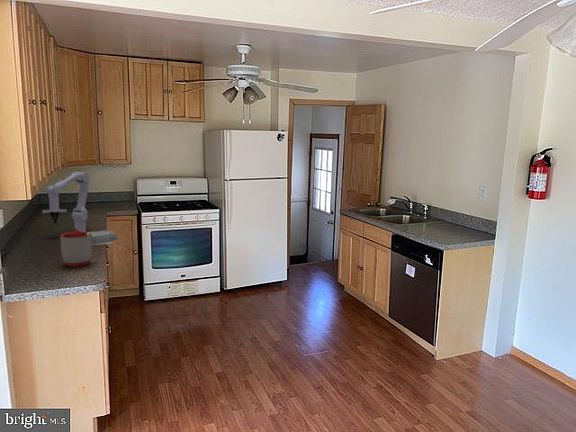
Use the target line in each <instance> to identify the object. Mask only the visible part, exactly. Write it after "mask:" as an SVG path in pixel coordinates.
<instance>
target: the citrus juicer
mask: <svg viewBox="0 0 576 432" xmlns="http://www.w3.org/2000/svg"><path fill="white" fill-rule="evenodd" d="M87 232H88V231H86V232H84V231H79V230H77V229H75V228H73V230H72V231H68V232H63V233H61V234H60V235H59V236H60V238H59V239H60V250H61V251H60V253H61V256H62V260H63V262H64V264H65V266H66V267H67V266H68V267H72V268H75V267H82V266H86V265H88V264H89V263H90V261H91V257H92V247H93V245H91V242H92V241H94V239H92V235H91V234H89V235H87Z"/></svg>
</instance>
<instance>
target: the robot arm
mask: <svg viewBox="0 0 576 432" xmlns="http://www.w3.org/2000/svg"><path fill="white" fill-rule="evenodd" d="M73 182H76V183H77V184H78V185H79V192H78V197H77V203H76V207H74V208H73V210H72V213H71V219H72V220H73V221H74V229H77V230H79V231H84V232H87V228H86V227H87V226H86V225H87V224H86V221H87V220H88V218H89V217H88V210H87V209H86V203H87V196H88V192H89V185H90V184H89V183H90V175H89V173H87V172H86V171H85V172H83V171H74V172H72V173H71V175H69V176H68V177H66V178H65V179H64V180H61V179H59V180H58V181H57V182H56V183H54V184H52V185H49V186H48V187H47V188H46V193H47V196H48V203H49V209H42V211H41V212H42V214H50V216H51V217H52V220H53V223H54V224H55V225H56V224H57V223H58V217H59V215H60V213H67V211H68V210H67V208H66V209H65V208H64V209H62V208H61V209H60V203H59V202H60V200H59V195H60V193H61V191H63V190H65V189H66V188H67V186H68V185H69V184H71V183H73Z"/></svg>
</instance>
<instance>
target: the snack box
mask: <svg viewBox="0 0 576 432" xmlns="http://www.w3.org/2000/svg"><path fill="white" fill-rule="evenodd" d="M86 232H87V235H89V234H91V235H92V239H94V241H92V242H91V244H95V243H101V242H108V241H112V242H113V241H118V233H117V232H115V231H111V230H109V229H108V230H107V229H102V230H95V231H86Z"/></svg>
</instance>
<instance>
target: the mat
mask: <svg viewBox="0 0 576 432" xmlns="http://www.w3.org/2000/svg"><path fill="white" fill-rule="evenodd" d="M110 244H111V245H112V244H114V242H113V241H108V242H101V243H95V244H91V246H98V245H99V246H100V245H110Z"/></svg>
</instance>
